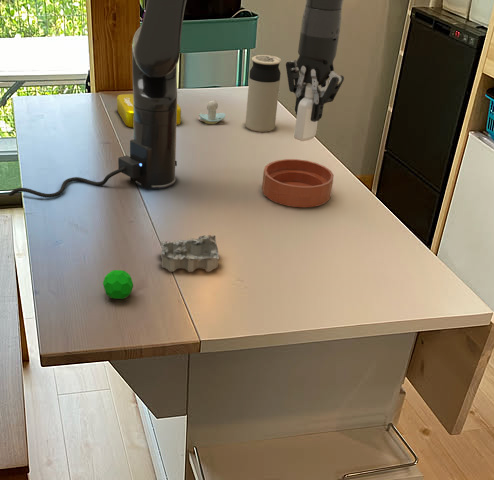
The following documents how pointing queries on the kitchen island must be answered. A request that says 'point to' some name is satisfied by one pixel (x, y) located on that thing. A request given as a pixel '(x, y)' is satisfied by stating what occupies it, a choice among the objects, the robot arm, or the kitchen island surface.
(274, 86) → the travel mug
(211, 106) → the pacifier
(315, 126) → the eye dropper bottle
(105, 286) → the polyhedron
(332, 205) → the kitchen island surface
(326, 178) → the bowl
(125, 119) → the element tile
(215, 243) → the egg carton
